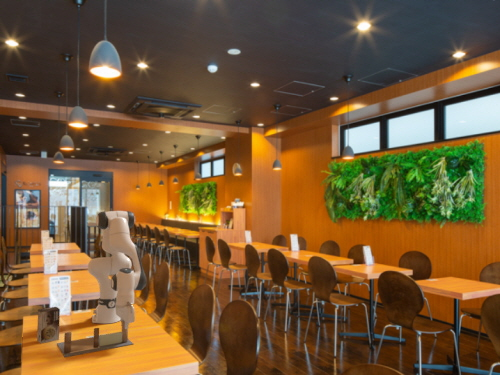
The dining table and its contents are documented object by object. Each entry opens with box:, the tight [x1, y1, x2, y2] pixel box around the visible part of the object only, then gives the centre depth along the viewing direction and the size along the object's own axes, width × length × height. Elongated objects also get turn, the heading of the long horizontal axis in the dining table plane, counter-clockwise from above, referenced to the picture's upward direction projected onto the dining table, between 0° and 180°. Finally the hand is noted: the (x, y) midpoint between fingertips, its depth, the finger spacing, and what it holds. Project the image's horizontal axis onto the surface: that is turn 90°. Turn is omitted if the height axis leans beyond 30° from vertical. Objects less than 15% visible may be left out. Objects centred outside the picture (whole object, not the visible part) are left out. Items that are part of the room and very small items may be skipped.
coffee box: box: [36, 306, 61, 344], centre depth 203 cm, size 9×6×16 cm
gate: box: [99, 321, 129, 346], centre depth 196 cm, size 3×14×10 cm, turn 125°
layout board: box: [56, 335, 134, 358], centre depth 196 cm, size 22×32×1 cm
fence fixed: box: [63, 327, 100, 354], centre depth 187 cm, size 3×16×9 cm, turn 125°
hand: (124, 327), depth 199 cm, fingers open, 3 cm apart
